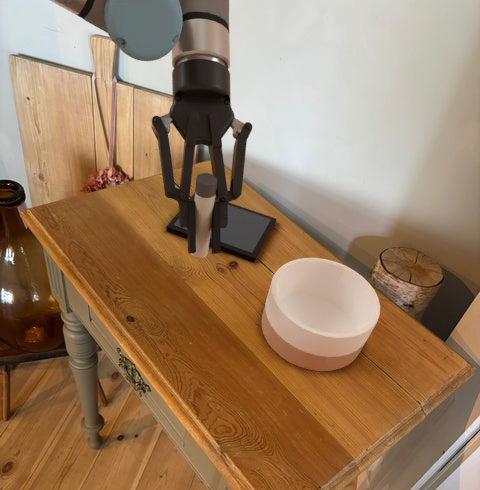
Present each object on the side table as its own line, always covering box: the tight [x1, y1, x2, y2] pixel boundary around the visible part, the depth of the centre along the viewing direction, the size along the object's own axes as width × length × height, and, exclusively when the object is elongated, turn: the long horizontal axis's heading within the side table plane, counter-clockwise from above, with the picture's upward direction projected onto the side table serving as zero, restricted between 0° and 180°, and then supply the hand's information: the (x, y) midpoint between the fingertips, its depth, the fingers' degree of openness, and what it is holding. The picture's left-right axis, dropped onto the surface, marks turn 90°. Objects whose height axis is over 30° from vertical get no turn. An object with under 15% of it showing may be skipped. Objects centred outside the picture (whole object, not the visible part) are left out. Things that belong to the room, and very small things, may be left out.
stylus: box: [190, 172, 217, 259], centre depth 62 cm, size 3×3×12 cm
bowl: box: [260, 257, 381, 372], centre depth 74 cm, size 17×17×8 cm
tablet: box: [165, 192, 277, 264], centre depth 91 cm, size 18×14×1 cm
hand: (204, 252), depth 61 cm, fingers closed on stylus, 2 cm apart
